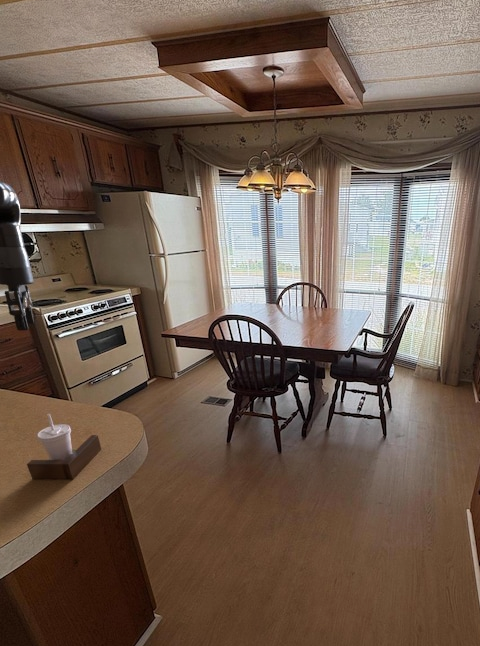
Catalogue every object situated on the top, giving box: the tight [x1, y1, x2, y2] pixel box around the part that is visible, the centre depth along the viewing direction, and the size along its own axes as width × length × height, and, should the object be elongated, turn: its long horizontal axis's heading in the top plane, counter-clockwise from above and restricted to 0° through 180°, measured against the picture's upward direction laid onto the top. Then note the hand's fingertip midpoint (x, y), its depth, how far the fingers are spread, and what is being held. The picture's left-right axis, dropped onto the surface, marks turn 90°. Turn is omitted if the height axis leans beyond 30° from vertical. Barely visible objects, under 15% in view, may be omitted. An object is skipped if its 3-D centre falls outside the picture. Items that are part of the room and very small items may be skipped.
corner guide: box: [26, 434, 102, 481], centre depth 85 cm, size 10×12×4 cm
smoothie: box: [36, 413, 73, 460], centre depth 82 cm, size 6×6×14 cm
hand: (26, 326), depth 93 cm, fingers open, 8 cm apart
